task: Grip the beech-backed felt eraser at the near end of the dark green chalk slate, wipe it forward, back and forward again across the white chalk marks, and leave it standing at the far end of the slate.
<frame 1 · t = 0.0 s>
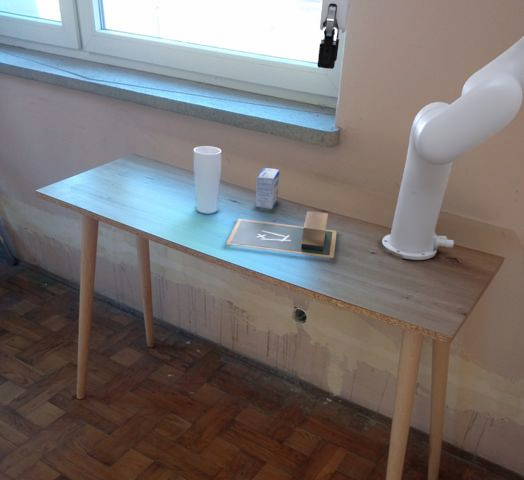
hand: (327, 64, 111), 37 cm above the table, tool pointing down, fingers open, 9 cm apart
eraser: (313, 240, 128), point 1 cm above the table, touching slate
slate: (283, 241, 129), on the table
drinking glass: (207, 211, 141), on the table
medicine box: (266, 206, 146), on the table
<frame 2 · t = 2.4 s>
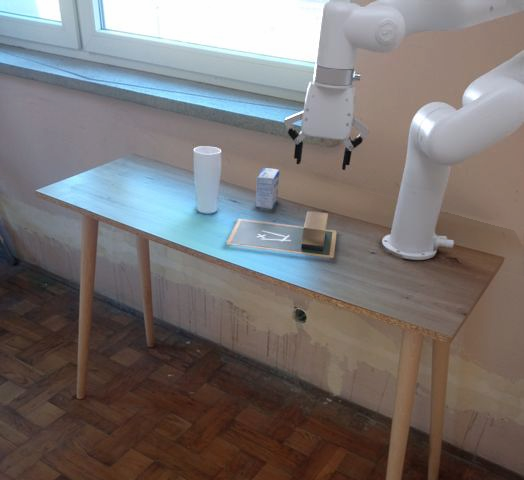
hand: (321, 165, 118), 18 cm above the table, tool pointing down, fingers open, 9 cm apart
nothing on the table moved.
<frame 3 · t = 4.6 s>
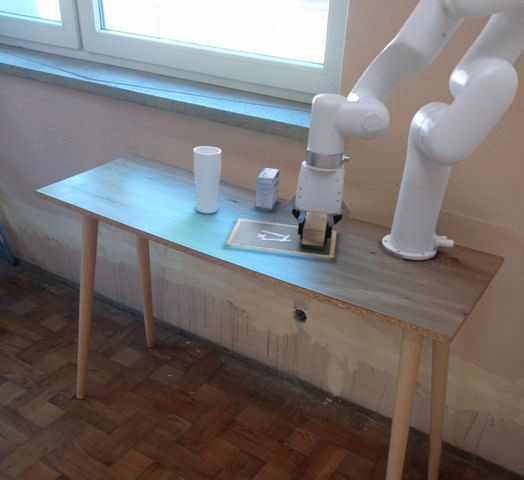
hand: (313, 238, 127), 2 cm above the table, tool pointing down, fingers closed on eraser, 4 cm apart
eraser: (313, 240, 128), point 1 cm above the table, touching gripper, slate
everything else where it was.
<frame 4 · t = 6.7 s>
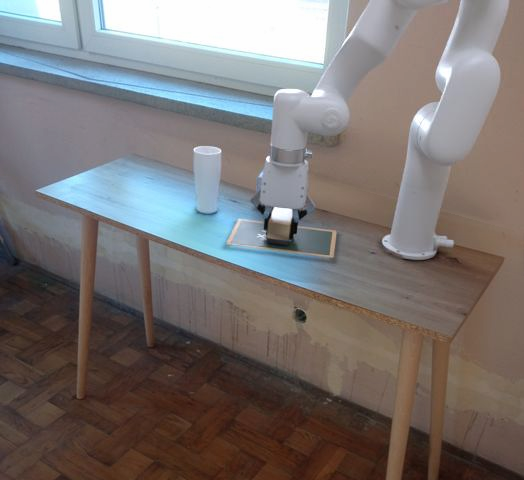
hand: (280, 233, 128), 2 cm above the table, tool pointing down, fingers closed on eraser, 4 cm apart
eraser: (279, 235, 128), point 1 cm above the table, touching gripper
everything else where it was.
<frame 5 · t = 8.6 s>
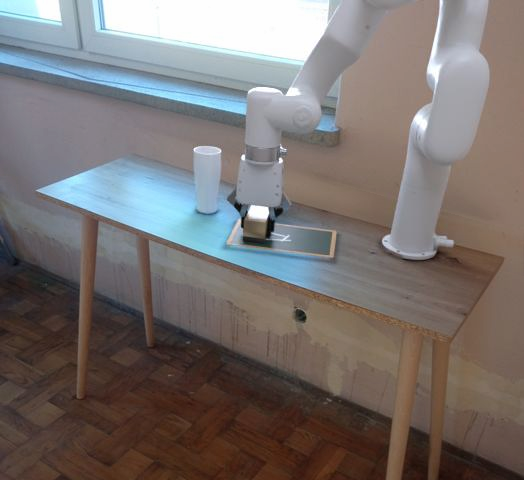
hand: (257, 231, 129), 1 cm above the table, tool pointing down, fingers closed on eraser, 4 cm apart
eraser: (257, 233, 129), point 1 cm above the table, touching gripper
everything else where it was.
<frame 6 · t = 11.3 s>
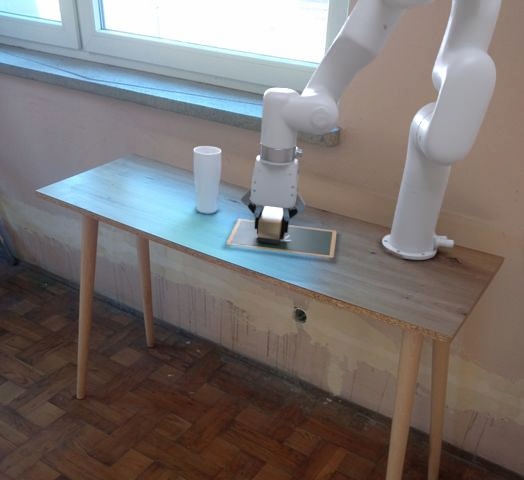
hand: (271, 232, 128), 2 cm above the table, tool pointing down, fingers closed on eraser, 4 cm apart
eraser: (270, 234, 128), point 1 cm above the table, touching gripper
everything else where it was.
when the fingers open (1 cm above the table, at t = 12.8 s): eraser stays where it is, resting on slate.
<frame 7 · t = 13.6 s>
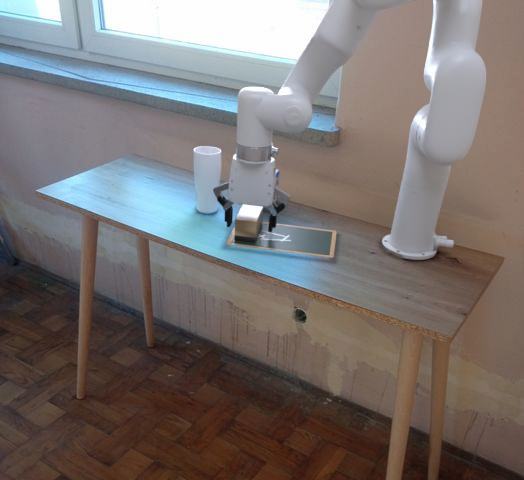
hand: (250, 227, 128), 2 cm above the table, tool pointing down, fingers open, 9 cm apart
eraser: (248, 232, 129), point 1 cm above the table, touching slate
everything else where it was.
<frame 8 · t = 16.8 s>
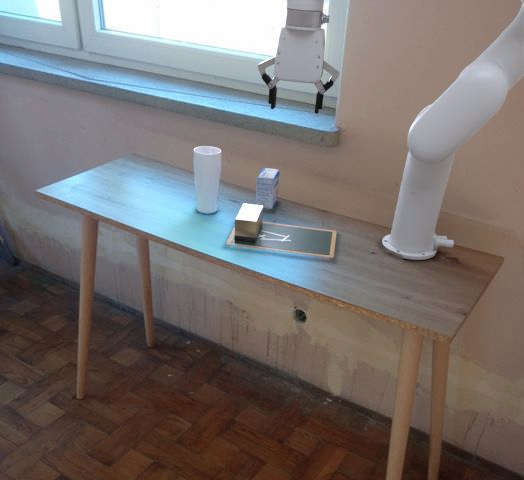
hand: (294, 110, 122), 26 cm above the table, tool pointing down, fingers open, 9 cm apart
nothing on the table moved.
at the end: eraser 0.3 cm from the target spot on the slate, point 1.0 cm above the slate's base; eraser moved 15.1 cm from its start; the gripper is holding nothing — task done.
